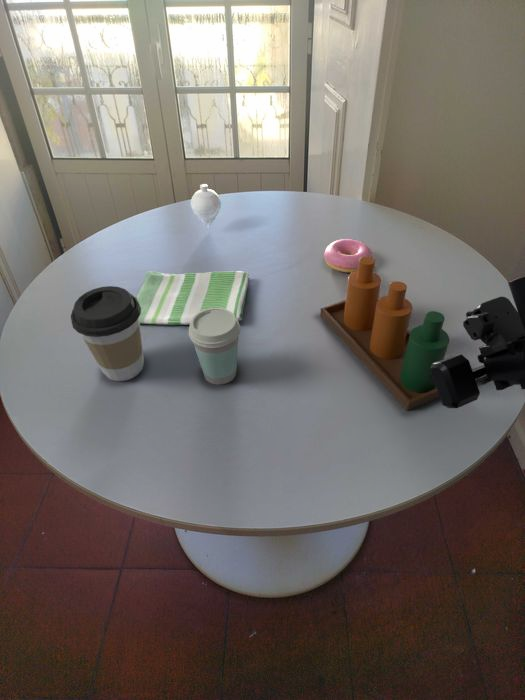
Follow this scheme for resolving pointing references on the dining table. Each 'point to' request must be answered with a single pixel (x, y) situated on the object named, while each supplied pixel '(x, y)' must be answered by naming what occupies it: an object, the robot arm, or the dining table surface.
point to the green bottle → (424, 353)
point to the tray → (376, 358)
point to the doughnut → (346, 254)
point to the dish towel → (190, 295)
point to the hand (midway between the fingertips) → (455, 368)
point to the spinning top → (206, 204)
